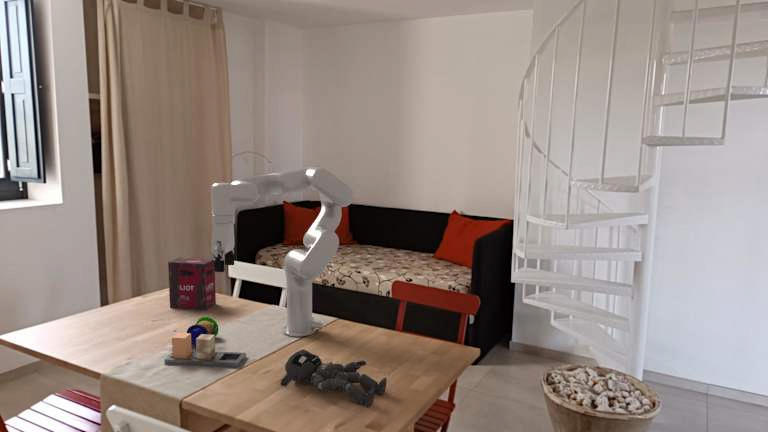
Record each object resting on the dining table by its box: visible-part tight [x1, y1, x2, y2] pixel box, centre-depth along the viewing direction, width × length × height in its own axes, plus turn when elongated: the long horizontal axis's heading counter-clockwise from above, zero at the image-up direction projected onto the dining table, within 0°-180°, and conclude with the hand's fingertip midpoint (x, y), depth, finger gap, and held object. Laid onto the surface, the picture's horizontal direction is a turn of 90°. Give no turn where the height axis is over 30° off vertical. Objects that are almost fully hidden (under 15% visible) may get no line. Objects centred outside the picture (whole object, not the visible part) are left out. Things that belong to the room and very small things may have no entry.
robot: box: [280, 349, 388, 408], centre depth 163 cm, size 17×10×30 cm
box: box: [167, 257, 217, 311], centre depth 236 cm, size 16×9×20 cm, turn 81°
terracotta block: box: [171, 332, 192, 359], centre depth 179 cm, size 4×4×8 cm
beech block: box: [195, 334, 216, 360], centre depth 178 cm, size 4×4×8 cm
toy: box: [186, 316, 220, 347], centre depth 195 cm, size 12×9×15 cm
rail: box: [164, 350, 247, 368], centre depth 179 cm, size 24×8×3 cm, turn 86°
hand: (224, 268), depth 189 cm, fingers open, 9 cm apart
